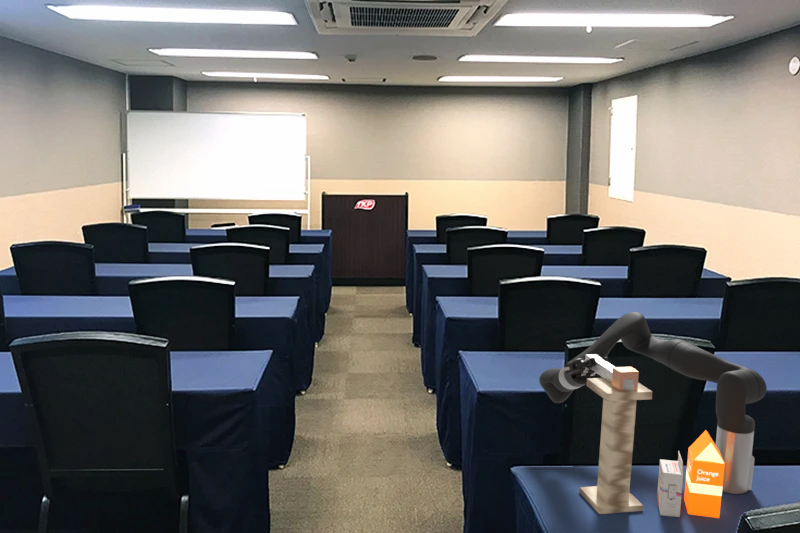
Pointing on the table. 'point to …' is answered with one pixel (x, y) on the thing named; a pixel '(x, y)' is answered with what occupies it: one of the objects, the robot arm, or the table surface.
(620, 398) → the birch stand
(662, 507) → the ink cartridge box
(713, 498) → the orange juice
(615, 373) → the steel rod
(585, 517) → the table surface
